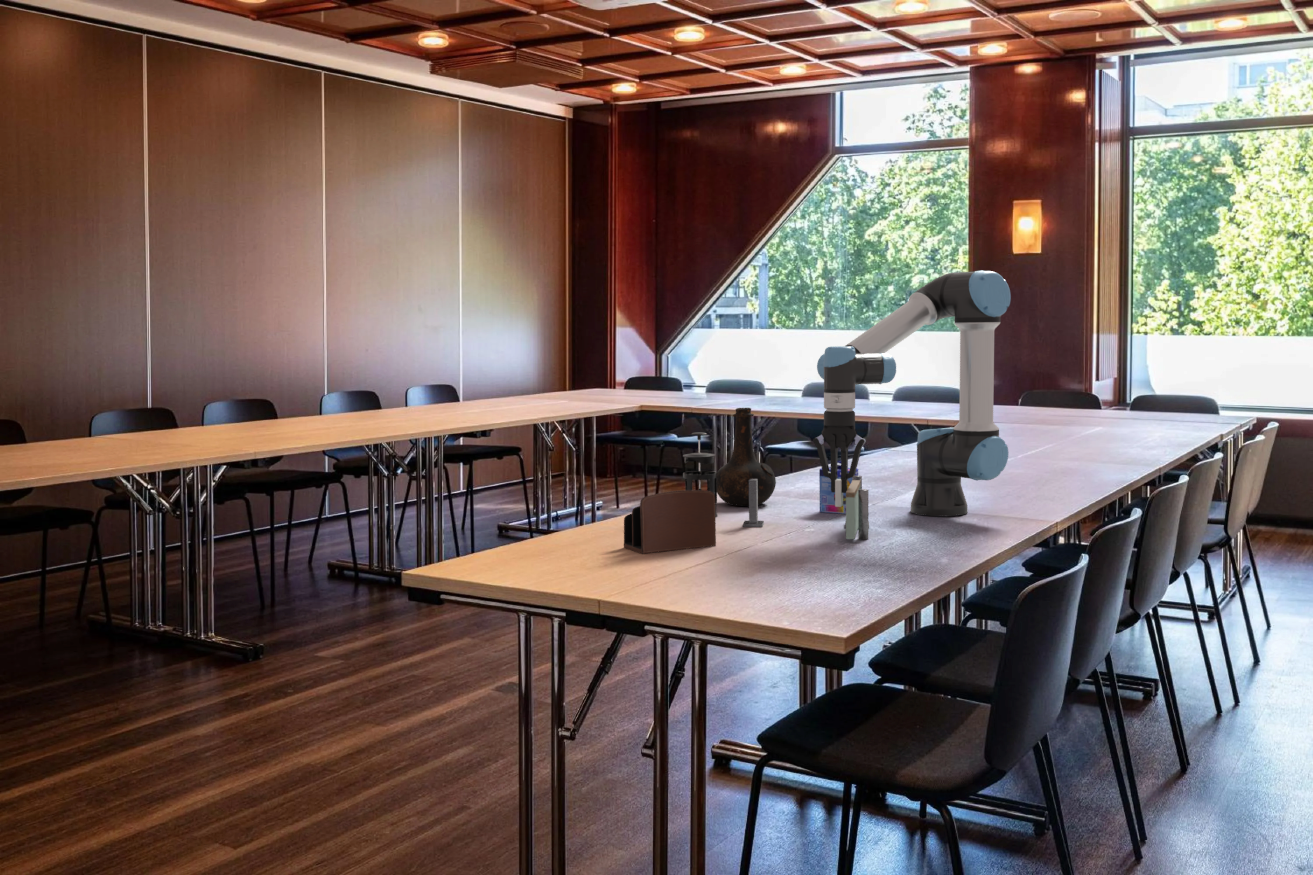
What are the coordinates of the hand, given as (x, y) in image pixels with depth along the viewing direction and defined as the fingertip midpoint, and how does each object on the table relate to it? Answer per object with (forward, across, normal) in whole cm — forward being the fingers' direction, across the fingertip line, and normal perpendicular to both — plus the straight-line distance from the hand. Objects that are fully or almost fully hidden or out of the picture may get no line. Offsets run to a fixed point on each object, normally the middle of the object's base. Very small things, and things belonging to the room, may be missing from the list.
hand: (839, 505), depth 304 cm
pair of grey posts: (+8, -10, +5) cm, 13 cm away
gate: (+6, +3, +2) cm, 8 cm away
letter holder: (+8, -36, -24) cm, 44 cm away
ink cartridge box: (+8, -7, +37) cm, 38 cm away
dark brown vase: (+8, -36, +45) cm, 58 cm away
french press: (+8, -42, +21) cm, 48 cm away
